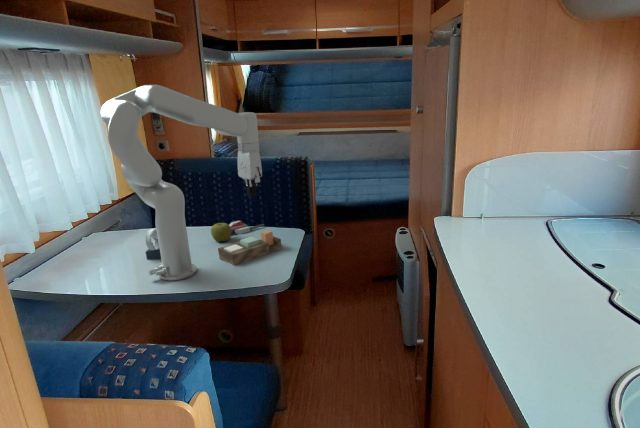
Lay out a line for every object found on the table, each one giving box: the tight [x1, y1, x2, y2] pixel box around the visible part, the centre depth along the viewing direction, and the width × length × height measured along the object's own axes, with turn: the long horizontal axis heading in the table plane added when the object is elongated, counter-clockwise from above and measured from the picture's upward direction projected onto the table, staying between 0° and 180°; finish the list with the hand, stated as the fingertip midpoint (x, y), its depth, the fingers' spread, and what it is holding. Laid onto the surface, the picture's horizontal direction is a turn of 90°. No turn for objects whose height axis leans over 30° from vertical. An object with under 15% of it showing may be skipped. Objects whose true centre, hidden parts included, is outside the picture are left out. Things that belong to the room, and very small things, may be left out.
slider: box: [260, 229, 274, 246], centre depth 177 cm, size 3×3×5 cm
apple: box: [210, 222, 232, 242], centre depth 189 cm, size 8×8×7 cm
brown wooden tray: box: [217, 235, 283, 266], centre depth 174 cm, size 21×10×4 cm, turn 131°
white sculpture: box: [145, 228, 161, 260], centre depth 176 cm, size 6×8×11 cm
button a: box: [224, 244, 243, 253], centre depth 170 cm, size 5×5×3 cm
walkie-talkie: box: [228, 220, 265, 236], centre depth 201 cm, size 9×4×20 cm
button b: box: [239, 236, 260, 247], centre depth 174 cm, size 5×5×3 cm
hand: (252, 196), depth 175 cm, fingers closed
